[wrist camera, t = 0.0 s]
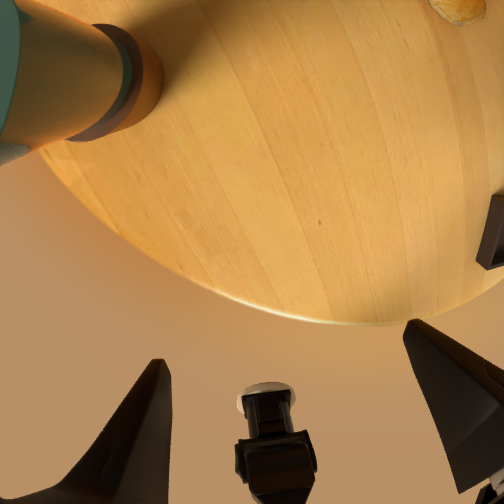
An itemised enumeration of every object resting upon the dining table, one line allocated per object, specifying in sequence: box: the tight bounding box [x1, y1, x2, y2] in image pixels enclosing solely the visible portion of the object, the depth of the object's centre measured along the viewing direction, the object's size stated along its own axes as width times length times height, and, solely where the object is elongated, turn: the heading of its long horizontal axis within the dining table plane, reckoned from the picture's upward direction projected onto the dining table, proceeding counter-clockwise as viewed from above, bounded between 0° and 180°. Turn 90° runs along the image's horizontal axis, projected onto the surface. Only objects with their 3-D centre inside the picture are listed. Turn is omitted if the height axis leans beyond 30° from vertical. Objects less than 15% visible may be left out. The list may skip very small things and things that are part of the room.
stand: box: [64, 24, 164, 142], centre depth 14 cm, size 7×7×6 cm
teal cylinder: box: [0, 0, 133, 166], centre depth 8 cm, size 6×6×10 cm
